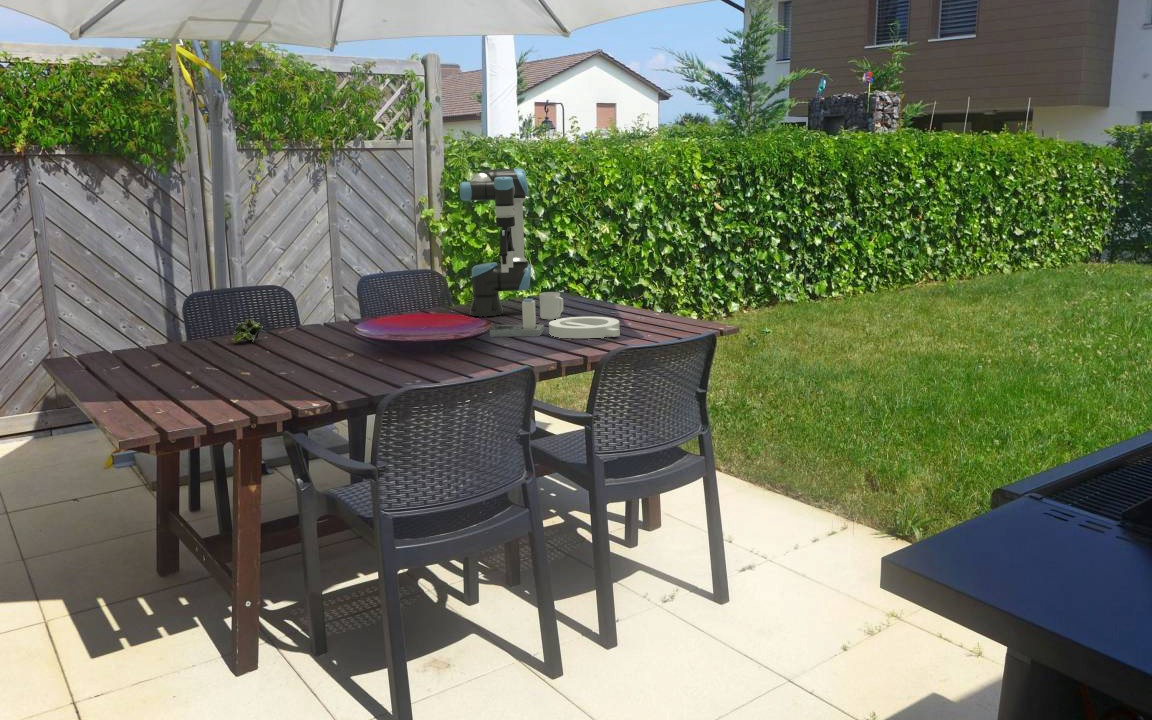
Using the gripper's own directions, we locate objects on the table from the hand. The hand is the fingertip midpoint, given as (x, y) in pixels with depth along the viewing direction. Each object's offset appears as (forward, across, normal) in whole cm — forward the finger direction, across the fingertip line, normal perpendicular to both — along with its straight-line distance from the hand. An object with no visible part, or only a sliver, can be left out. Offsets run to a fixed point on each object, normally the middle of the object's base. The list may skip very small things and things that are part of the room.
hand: (507, 269), depth 375 cm
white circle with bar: (+25, -7, -31) cm, 40 cm away
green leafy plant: (+25, -18, +102) cm, 106 cm away
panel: (+25, -6, -4) cm, 26 cm away
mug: (+26, +29, -15) cm, 42 cm away
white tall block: (+25, -6, -9) cm, 27 cm away
